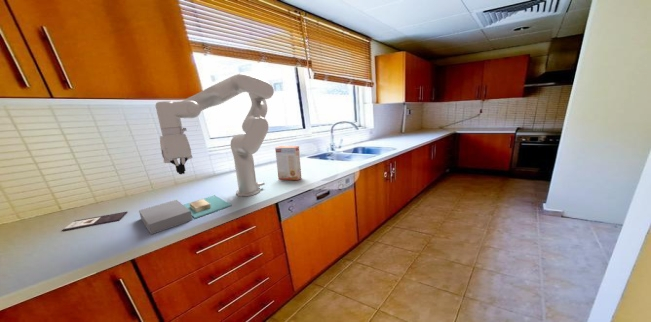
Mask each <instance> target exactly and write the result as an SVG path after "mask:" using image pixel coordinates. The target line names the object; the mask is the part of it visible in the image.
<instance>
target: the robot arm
mask: <svg viewBox="0 0 651 322" xmlns="http://www.w3.org/2000/svg"><path fill="white" fill-rule="evenodd" d="M242 93H248V97H250V100H251V107H250V109H249V111H248V112H247V115H246V116H245V119H244V120H243V122H242V125H241V129H242V132H244V133H245V134H241V133H240V134H236V135H234V136H233V137H232V138H231V139H230V151H231V152H232V155H233V156H232V157H233V160H234V167H235V174H236V182H237V187H238V189H237V190H236V191H235V194H236V196H237V197H250V196H254V195H257V194H258V193H260V191H261V187H262V186H265V181H261V182H260V181H258V182H257V178H256V169H255V162H254V161H255V160H254V156H253V154H256V153H257V152H258V151H259V150H260V148H261V146H262V144H263V142H264V140H265V137H266V136H267V134H268V131H269V123H268V121H267V119H266V115H267V113H268V104H267V100H269V99H271V98H272V97H273V95H274V93H275V92H274V86H273V85H272V84H271V83H270V82H268V81H266V80H263V79H262V78H259V77H256V76H254V75H251V74H248V73H243V72H240V73H238V74H234V75H231V76H229V77H228V78H225V79H223V80H221V81H219V82H217V83H215V84H213V85H211V86H209V87H207V88H205V89H204V90H201V91H199V92H198V93H195V94H194V95H192V96H188V97H187V98H185V99H184V100H181V101H171V100H169V101H167V100H166V101H158V102H156V103H155V110H156V114H157V118H158V122H159V127H160V132H161V135H160V136H159V144H160V151H161V157H162V158H163V163H165V164H172V165H173V166H175V170H176V173H178V174H179V175H185V174H186V166H185V164H186V163H187V161H188V160H190V159H192V158H193V155H192V149H191V146H190V142H189V139H188V137H187V134H186V133H185V132H186V131H187V128H186V127H183V125H182V120H181V119H194V118H197V117H198V116H200V115H201V112H203V111H204V110H206V109H208V108H212V107H215V106H218V105H221V104H224V103H226V102H227V101H229V100H231V99H233V98H235V97H236V96H238V95H240V94H242ZM178 159H179V161H178Z"/></svg>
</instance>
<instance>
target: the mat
mask: <svg viewBox="0 0 651 322" xmlns="http://www.w3.org/2000/svg"><path fill="white" fill-rule="evenodd" d="M202 199H204V200H205V201H207V202H208V203H210V206H211V208H209V209H206V210H203V211H200V212H195V211H194V210H193V209H192V208H191V207H190V203H192V202H195V201H199V200H202ZM183 205H184V206H185V207H186V208H188V209H189V210H190V211H191V215H192V218H193V217H194V218H193V219H198V218H201V217H205V216H207V215H210V214H213V213H216V212H218V210H219V211H221V210H224V209H227V208H229V207H232V206H233V205H232V204H231V203H230V202H228V201H226V200H224V199H222V198H220V197H218V196H216V195H212V196H207V197H204V198H201V199H198V200H194V201H191V202H188V203H185V204H183ZM215 211H216V212H215Z"/></svg>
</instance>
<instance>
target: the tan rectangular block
mask: <svg viewBox="0 0 651 322" xmlns="http://www.w3.org/2000/svg"><path fill="white" fill-rule="evenodd" d="M201 199H202V200H201ZM201 199H198V200H199V201H197V200H194V201H195V202H194V201H191V202H192V203H191V202H189V203H190V207H191V208H192V209H193V210H194V211H195V212H200V211H203V210H206V209H209V208H211V206H210V203H208V202H207V201H205V200H204V198H201Z"/></svg>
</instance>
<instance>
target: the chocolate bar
mask: <svg viewBox="0 0 651 322" xmlns="http://www.w3.org/2000/svg"><path fill="white" fill-rule="evenodd" d="M128 213H129V212H128V211H122V212H115V213H111V214H106V215H101V216H94V217H88V218H84V219H78V220H74V221H73V222H71V223H70V224H68V225H67V226H65V227H64V228H63V229H61V232H62V231H63V232H66V231H73V230H79V229H83V228H87V227H93V226H99V225H103V224H109V223H114V222H120V221H121V220H122V219H123V218H124V217H125V216H126V215H127V214H128Z"/></svg>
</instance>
